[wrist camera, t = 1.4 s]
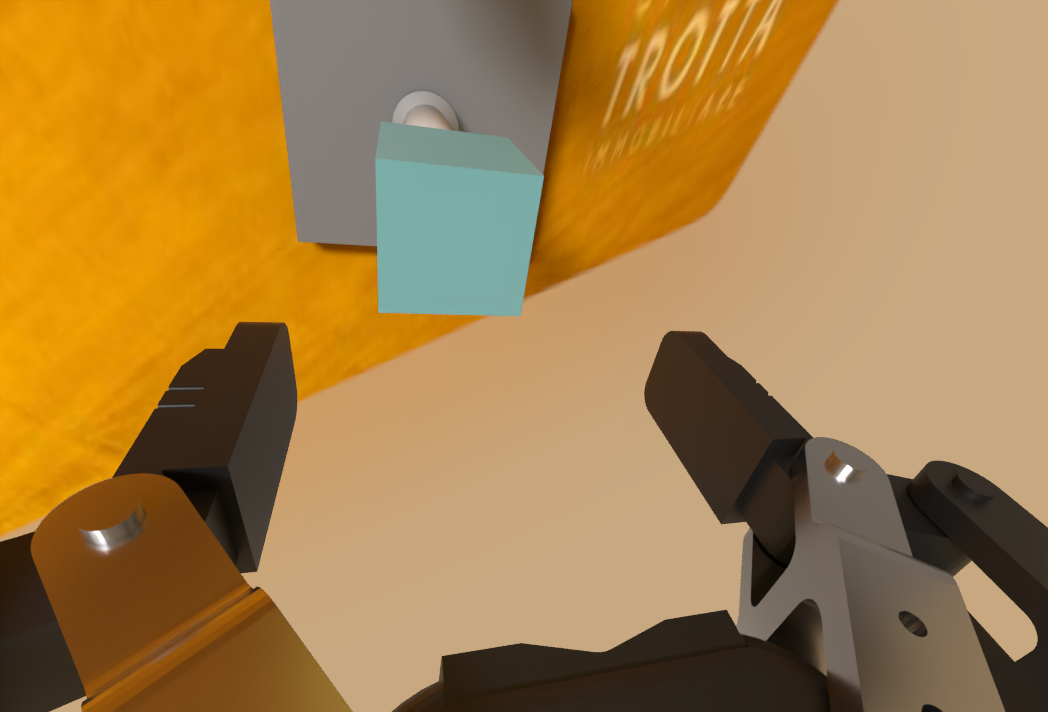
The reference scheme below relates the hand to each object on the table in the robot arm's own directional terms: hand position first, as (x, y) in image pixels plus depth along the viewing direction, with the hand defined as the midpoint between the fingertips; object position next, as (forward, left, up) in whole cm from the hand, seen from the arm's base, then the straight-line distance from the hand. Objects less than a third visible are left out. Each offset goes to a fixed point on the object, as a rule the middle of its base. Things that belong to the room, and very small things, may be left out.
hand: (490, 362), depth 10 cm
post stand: (0, 0, -30) cm, 30 cm away
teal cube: (0, 0, -12) cm, 12 cm away
